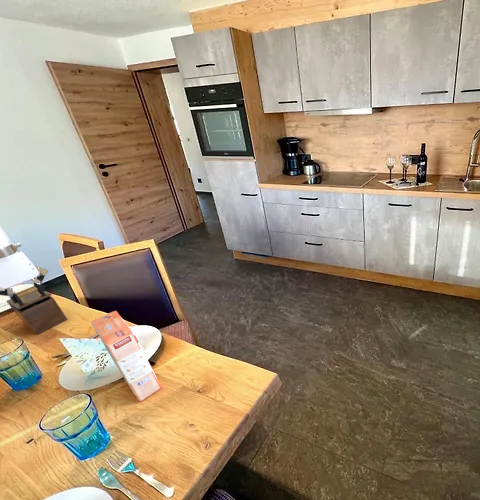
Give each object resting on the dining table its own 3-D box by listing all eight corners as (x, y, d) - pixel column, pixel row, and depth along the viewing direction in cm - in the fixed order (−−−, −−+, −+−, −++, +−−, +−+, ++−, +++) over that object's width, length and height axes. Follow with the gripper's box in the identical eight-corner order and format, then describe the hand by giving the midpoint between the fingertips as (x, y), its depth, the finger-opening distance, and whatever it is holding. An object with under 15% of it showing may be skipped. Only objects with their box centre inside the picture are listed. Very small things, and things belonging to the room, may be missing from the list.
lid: (52, 295, 101) (44, 283, 99) (18, 309, 95) (9, 297, 93) (39, 289, 108) (31, 278, 106) (7, 302, 101) (-2, 291, 99)
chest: (67, 319, 107) (53, 297, 102) (37, 335, 101) (20, 312, 96) (53, 310, 113) (39, 289, 108) (24, 324, 106) (7, 302, 101)
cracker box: (163, 387, 80) (134, 331, 70) (139, 403, 76) (104, 346, 66) (145, 362, 88) (116, 308, 78) (122, 375, 84) (88, 321, 74)
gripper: (30, 239, 98) (58, 283, 107) (-47, 262, 85) (-8, 310, 94) (39, 243, 95) (67, 288, 104) (-39, 268, 82) (0, 317, 91)
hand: (31, 298), depth 99 cm, fingers closed on lid, 5 cm apart
